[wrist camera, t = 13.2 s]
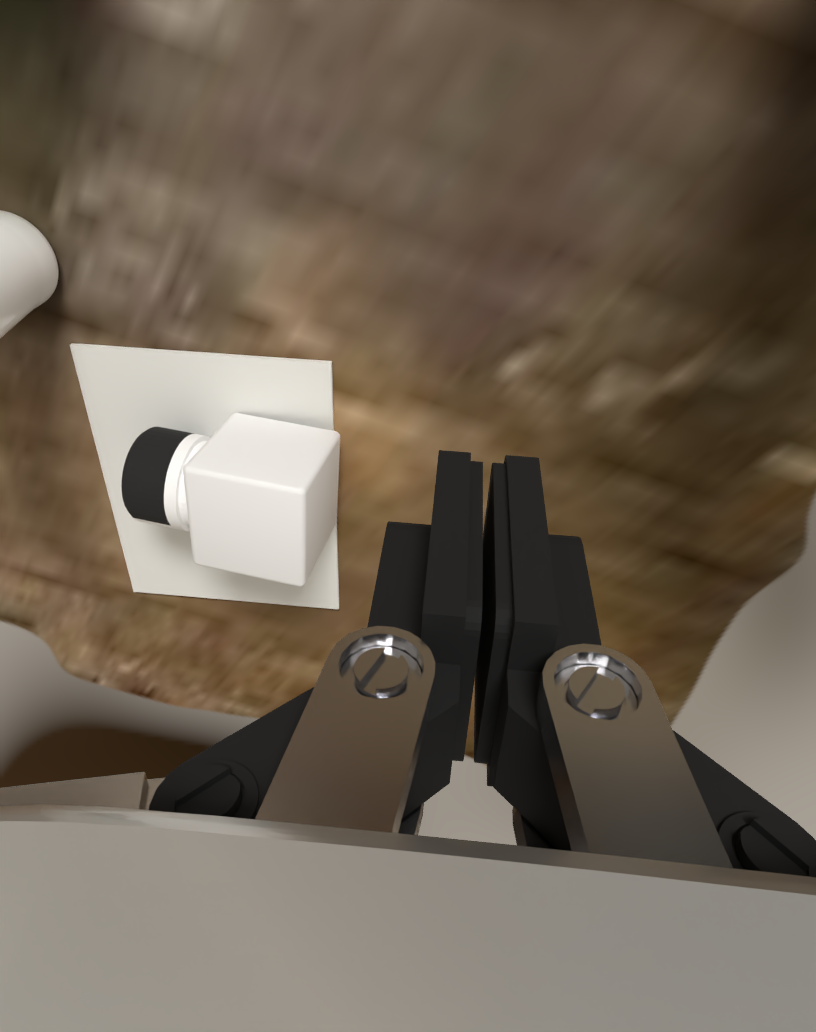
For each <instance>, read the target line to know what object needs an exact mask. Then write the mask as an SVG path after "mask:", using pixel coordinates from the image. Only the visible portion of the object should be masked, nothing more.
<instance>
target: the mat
mask: <svg viewBox="0 0 816 1032" xmlns="http://www.w3.org/2000/svg"><path fill="white" fill-rule="evenodd" d="M70 348H71V352H72V356H73V360H74V364H75V367H76V371H77V375H78V379H79V383H80V387H81V390H82V394H83V398H84V402H85V406H86V410H87V414H88V417H89V421H90V425H91V429H92V433H93V437H94V441H95V444H96V448H97V452H98V456H99V460H100V464H101V468H102V471H103V475H104V479H105V483H106V487H107V491H108V495H109V498H110V502H111V506H112V510H113V514H114V518H115V521H116V525H117V529H118V533H119V537H120V541H121V545H122V548H123V552H124V556H125V560H126V564H127V568H128V572H129V575H130V579H131V583H132V587H133V591H134V592H143V593H155V594H166V595H178V596H189V597H201V598H212V599H224V600H235V601H247V602H258V603H270V604H281V605H293V606H305V607H316V608H328V609H339V576H338V543H337V522H336V525H335V527H334V529H333V530H332V532H331V534H330V536H329V538H328V540H327V542H326V544H325V546H324V548H323V550H322V552H321V554H320V556H319V558H318V560H317V562H316V564H315V566H314V568H313V570H312V572H311V574H310V576H309V577H308V579H307V581H306V583H305V585H303V586H300V587H299V586H294V585H289V584H285V583H280V582H275V581H271V580H266V579H261V578H257V577H252V576H247V575H243V574H238V573H233V572H229V571H224V570H219V569H215V568H210V567H205V566H200V565H197V564H195V563H194V561H193V555H192V547H191V538H190V532H189V531H183V530H178V529H174V528H169V527H164V526H159V525H154V524H150V523H145V522H140V521H137V520H135V519H134V518H133V517H132V516H131V515H130V514H129V512H128V511H127V509H126V507H125V505H124V502H123V498H122V488H121V483H122V473H123V468H124V464H125V460H126V457H127V454H128V452H129V450H130V448H131V446H132V444H133V443H134V441H135V440H136V438H137V437H138V436H139V435H140V434H141V433H143V432H144V431H146V430H148V429H149V428H152V427H163V428H168V429H173V430H179V431H184V432H189V433H194V434H200V435H205V436H209V437H212V436H213V435H214V433H215V432H216V431H217V430H218V429H219V428H220V427H221V426H222V425H223V424H224V423H225V422H226V421H227V419H228V418H229V417H230V416H231V415H232V414H234V413H240V414H246V415H251V416H256V417H262V418H267V419H272V420H278V421H283V422H289V423H294V424H299V425H305V426H310V427H315V428H321V429H326V430H332V431H334V411H333V378H332V361H322V360H308V359H293V358H279V357H264V356H250V355H235V354H221V353H206V352H192V351H177V350H162V349H148V348H133V347H119V346H104V345H90V344H75V343H72V344H71V345H70Z"/></svg>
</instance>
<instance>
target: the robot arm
mask: <svg viewBox="0 0 816 1032" xmlns="http://www.w3.org/2000/svg"><path fill="white" fill-rule="evenodd" d="M474 678H475V715H474V762H475V763H486V764H487V786H494V788H495V789H496V790H497V791H498V792H499V793H500V794H501V795H502V796H503V797H504V798H505V799H506V800H507V801H508V802H509V803H510V804H511V805H512V806H513V810H512V811H513V812H512V813H513V828H514V833H515V838H516V843H517V846H516V845H505V844H496V843H486V842H477V841H467V840H457V839H447V838H438V837H428V836H418V833H419V828H420V824H421V820H422V816H423V806H424V802H425V801H427V800H428V799H429V798H430V797H432V796H433V795H434V794H436V793H437V792H438V791H440V790H441V789H442V788H443V787H445V786H446V785H448V784H449V783H450V774H451V766H452V760H455V761H463V759H464V753H465V745H466V738H467V730H468V723H469V715H470V708H471V700H472V693H473V685H474ZM0 1032H816V840H815V839H814V838H813V837H812V836H811V835H810V834H809V833H807V832H806V831H805V830H804V829H803V828H802V827H801V826H800V825H798V823H796V822H795V821H794V820H792V819H791V818H790V817H788V816H787V815H786V814H784V813H783V812H782V811H780V810H779V809H778V808H776V807H775V806H774V805H772V804H771V803H770V802H768V801H767V800H766V799H764V798H763V797H762V796H760V795H759V794H758V793H756V792H755V791H753V790H752V789H751V788H750V787H748V786H747V785H745V784H744V783H743V782H742V781H740V780H739V779H738V778H736V777H735V776H734V775H732V774H731V773H729V772H728V771H727V770H726V769H724V768H723V767H722V766H720V765H719V764H717V763H716V762H715V761H714V760H712V759H711V758H710V757H708V756H707V755H705V754H704V753H703V752H702V751H700V750H699V749H697V748H696V747H695V746H694V745H692V744H691V743H690V742H688V741H687V740H685V739H684V738H683V737H681V736H680V735H679V734H677V733H676V732H675V731H673V730H672V728H671V726H670V723H669V721H668V719H667V717H666V714H665V712H664V710H663V707H662V705H661V703H660V701H659V698H658V696H657V694H656V692H655V689H654V687H653V685H652V683H651V681H650V679H649V678H648V676H647V675H646V673H645V672H644V670H643V669H642V668H641V667H640V666H639V665H637V664H636V663H635V662H634V661H633V660H632V659H631V658H629V657H627V656H625V655H624V654H622V653H620V652H618V651H616V650H614V649H610V648H607V647H604V646H601V640H600V635H599V629H598V624H597V619H596V613H595V608H594V603H593V597H592V592H591V587H590V581H589V576H588V570H587V565H586V560H585V554H584V549H583V544H582V541H581V539H580V538H579V537H575V536H562V535H550V534H548V528H547V520H546V512H545V504H544V496H543V488H542V480H541V471H540V463H539V458H535V457H522V456H508V455H506V456H505V460H504V464H502V463H492V468H491V476H490V484H489V492H488V500H487V508H486V517H485V525H484V533H483V462H475V461H471V453H468V452H455V451H442V450H439V455H438V465H437V475H436V485H435V494H434V504H433V514H432V524H431V525H425V524H412V523H400V522H388V523H387V527H386V532H385V538H384V543H383V548H382V553H381V559H380V564H379V569H378V575H377V580H376V585H375V591H374V596H373V601H372V606H371V612H370V617H369V622H368V627H367V628H362V629H359V630H357V631H354V632H352V633H349V634H348V635H346V636H345V637H344V638H343V639H341V640H340V641H339V642H337V643H336V645H335V646H334V648H333V649H332V651H331V652H330V654H329V656H328V658H327V660H326V662H325V665H324V667H323V669H322V671H321V674H320V676H319V678H318V680H317V682H316V685H315V687H313V688H311V689H310V690H308V691H306V692H304V693H303V694H301V695H299V696H297V697H296V698H294V699H292V700H291V701H289V702H287V703H285V704H284V705H282V706H280V707H279V708H277V709H275V710H273V711H272V712H270V713H268V714H266V715H265V716H263V717H261V718H260V719H258V720H256V721H254V722H253V723H251V724H249V725H247V726H246V727H244V728H242V729H241V730H239V731H237V732H235V733H234V734H232V735H230V736H228V737H227V738H225V739H223V740H222V741H220V742H218V743H216V744H215V745H213V746H212V747H210V748H208V749H206V750H204V751H203V752H201V753H199V754H197V755H196V756H194V757H192V758H191V759H189V760H187V761H185V762H184V763H182V764H181V765H180V766H179V767H177V768H176V769H174V770H173V771H172V772H171V773H169V774H168V775H167V776H166V778H159V779H150V780H147V778H146V774H145V772H140V773H132V774H123V775H115V776H105V777H96V778H87V779H78V780H69V781H60V782H51V783H42V784H33V785H24V786H16V787H6V788H0Z"/></svg>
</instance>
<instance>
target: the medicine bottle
mask: <svg viewBox="0 0 816 1032" xmlns="http://www.w3.org/2000/svg"><path fill="white" fill-rule="evenodd" d="M339 455H340V435H339V433H338V432H336V431H332V430H326V429H321V428H315V427H310V426H305V425H299V424H294V423H289V422H283V421H278V420H272V419H267V418H262V417H256V416H251V415H246V414H240V413H234V414H232V415H231V416H230V417H229V418H228V419H227V421H226V422H225V423H224V424H223V425H222V426H221V427H220V428H219V429H218V430H217V431H216V432H215V433H214V435H213V436H212V437H209V436H205V435H200V434H194V433H189V432H184V431H179V430H173V429H168V428H163V427H152V428H149V429H148V430H146V431H144V432H143V433H141V434H140V435H139V436H138V437H137V438H136V440H135V441H134V443H133V444H132V446H131V448H130V450H129V452H128V454H127V457H126V460H125V464H124V468H123V473H122V483H121V488H122V498H123V502H124V505H125V507H126V509H127V511H128V512H129V514H130V515H131V516H132V517H133V518H134V519H135V520H137V521H140V522H145V523H150V524H154V525H159V526H164V527H169V528H174V529H178V530H183V531H189V532H190V538H191V547H192V555H193V561H194V563H195V564H197V565H200V566H205V567H210V568H215V569H219V570H224V571H229V572H233V573H238V574H243V575H247V576H252V577H257V578H261V579H266V580H271V581H275V582H280V583H285V584H289V585H294V586H299V587H300V586H303V585H305V583H306V581H307V579H308V577H309V576H310V574H311V572H312V570H313V568H314V566H315V564H316V562H317V560H318V558H319V556H320V554H321V552H322V550H323V548H324V546H325V544H326V542H327V540H328V538H329V536H330V534H331V532H332V530H333V529H334V527H335V525H336V522H337V504H338V479H339Z"/></svg>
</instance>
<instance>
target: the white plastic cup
mask: <svg viewBox="0 0 816 1032" xmlns="http://www.w3.org/2000/svg"><path fill="white" fill-rule="evenodd" d="M58 277H59V269H58V263H57V259H56V256H55V254H54V251H53V249H52V247H51V245H50V244H49V242H48V241H47V239H46V238H45V237H44V235H43V234H42V233H41V232H40V231H39V230H38V229H37V228H36V227H35V226H34V225H32V224H31V223H30V222H28V221H27V220H25V219H24V218H22V217H20V216H18V215H16V214H13V213H10V212H7V211H2V210H0V339H1V338H2V337H3V336H4V335H5V334H6V333H8V332H9V331H10V330H11V329H12V328H13V327H14V326H15V325H16V324H18V323H19V322H20V321H21V320H22V319H23V318H24V317H25V316H27V315H28V314H29V313H30V312H31V311H32V310H34V309H36V308H37V307H39V306H40V305H41V304H43V303H44V302H46V301H47V300H48V299H49V298H50V297H51V296H52V294H53V293H54V291H55V289H56V287H57V283H58Z"/></svg>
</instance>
